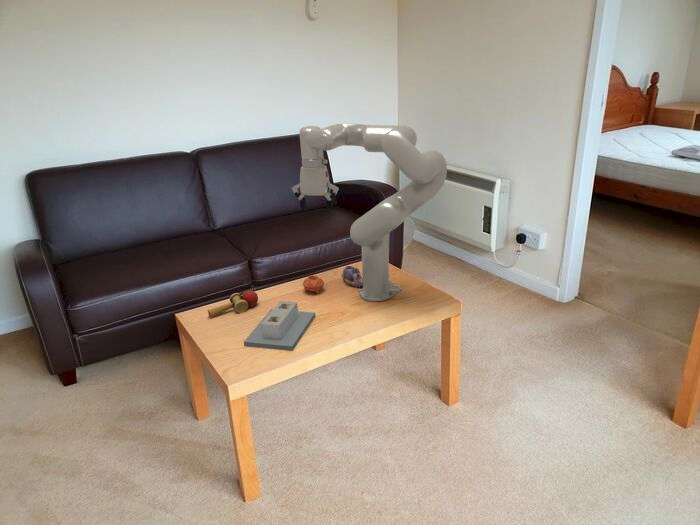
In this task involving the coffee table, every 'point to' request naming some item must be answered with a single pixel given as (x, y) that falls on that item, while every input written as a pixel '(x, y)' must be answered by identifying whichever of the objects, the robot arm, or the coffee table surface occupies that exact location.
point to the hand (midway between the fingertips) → (316, 210)
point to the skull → (352, 276)
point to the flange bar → (279, 320)
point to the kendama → (237, 303)
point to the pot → (313, 283)
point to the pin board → (289, 337)
